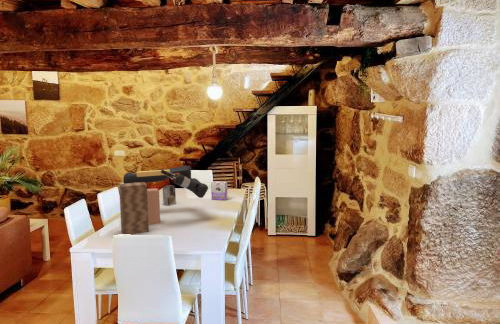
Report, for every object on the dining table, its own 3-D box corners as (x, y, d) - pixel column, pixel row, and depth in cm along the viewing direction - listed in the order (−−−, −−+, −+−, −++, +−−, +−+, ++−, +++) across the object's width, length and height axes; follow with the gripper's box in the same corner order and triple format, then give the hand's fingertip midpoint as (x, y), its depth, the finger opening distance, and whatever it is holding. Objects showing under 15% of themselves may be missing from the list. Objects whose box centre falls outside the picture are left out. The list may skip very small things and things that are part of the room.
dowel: (168, 173, 269) (168, 169, 269) (170, 174, 266) (170, 170, 266) (136, 176, 260) (136, 171, 259) (137, 176, 257) (137, 172, 256)
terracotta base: (157, 220, 282) (156, 188, 279) (160, 223, 274) (159, 190, 271) (144, 221, 278) (143, 189, 275) (147, 224, 270) (146, 191, 267)
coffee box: (171, 202, 335) (170, 184, 333) (176, 204, 331) (175, 185, 329) (162, 204, 328) (162, 186, 326) (167, 206, 324) (167, 187, 322)
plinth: (145, 227, 264) (143, 181, 259) (148, 231, 255) (146, 184, 251) (121, 231, 257) (119, 184, 252) (123, 235, 248) (121, 186, 244)
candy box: (227, 199, 348) (227, 181, 346) (225, 200, 343) (225, 182, 341) (213, 198, 352) (213, 180, 350) (211, 199, 346) (210, 181, 344)
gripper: (181, 174, 279) (161, 164, 271) (187, 177, 266) (165, 166, 259) (177, 184, 278) (156, 173, 270) (182, 187, 265) (160, 176, 258)
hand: (160, 170), depth 265 cm, fingers closed on dowel, 3 cm apart
